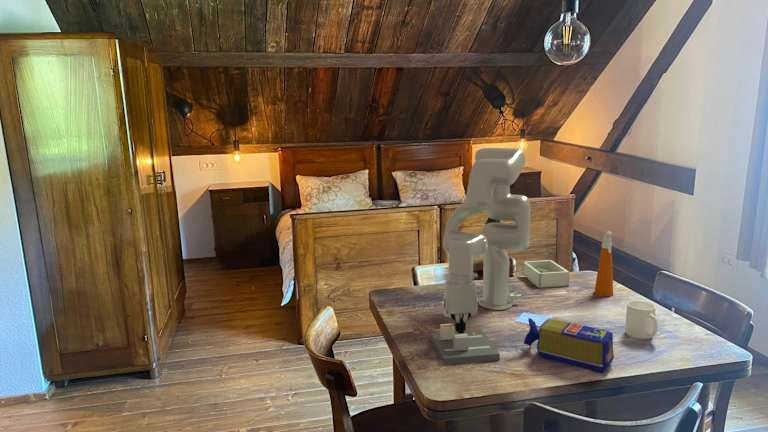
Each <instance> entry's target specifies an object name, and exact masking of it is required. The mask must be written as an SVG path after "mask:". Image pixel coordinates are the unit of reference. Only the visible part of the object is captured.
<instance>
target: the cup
mask: <svg viewBox="0 0 768 432" xmlns="http://www.w3.org/2000/svg"><path fill="white" fill-rule="evenodd" d="M625 313H626V314H625V315H626V316H625V328H624V330H625V331H624V332H625V334H626V335H627V336H629V337H630V338H633V339H636V338H637V340H650V339H651V338H652V337H655V336H656V335H657V332H658V320H657V317H656V305H655V304H654V303H651V302H649V301H645V300H629V301H628V302H627V303H626V312H625ZM649 338H650V339H649Z"/></svg>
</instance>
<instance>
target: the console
mask: <svg viewBox="0 0 768 432" xmlns="http://www.w3.org/2000/svg"><path fill="white" fill-rule="evenodd" d="M464 333H466V334H467V335H468V337H469V350H460V351H455V349H454V347H453V339H451V340H442V339H441V337H440V331H439V332H431V333H430V339H431V342H432V343H433V346H434V348H435V350H436V352H437V354H438V356H439V358H440V360H441V362H442V364H443V365H454V364H455V365H456V364H467V363H481V362H490V361H491V362H493V361H494V362H495V361H500V360H501V358H500V357H501V354H500V352H499V351H498V349H497V348H496V347H495V345H494V344H493V343H492V341H491V340H490V338H489V337H488V336H487V335H486V334H485V332H484V330H483V329H470V330H469V329H468V330H467V329H466V331H464ZM455 334H458V332H457V331H456V330H455Z"/></svg>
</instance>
